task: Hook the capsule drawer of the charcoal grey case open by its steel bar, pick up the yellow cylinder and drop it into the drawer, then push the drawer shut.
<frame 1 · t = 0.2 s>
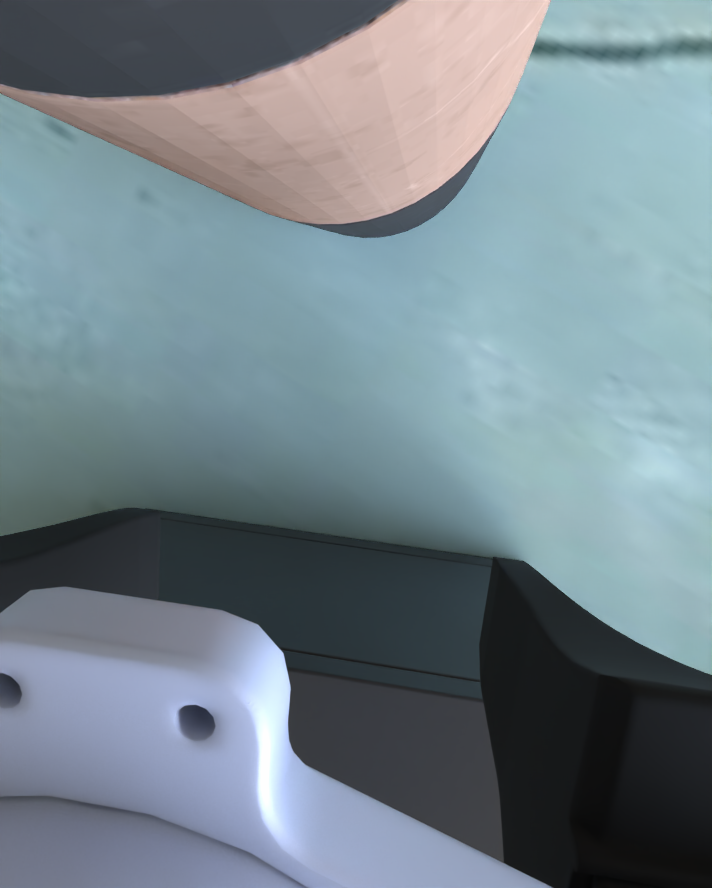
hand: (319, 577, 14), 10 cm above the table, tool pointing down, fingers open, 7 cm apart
travel mug: (373, 123, 21), on the table
charcoal grey case: (315, 691, 26), on the table
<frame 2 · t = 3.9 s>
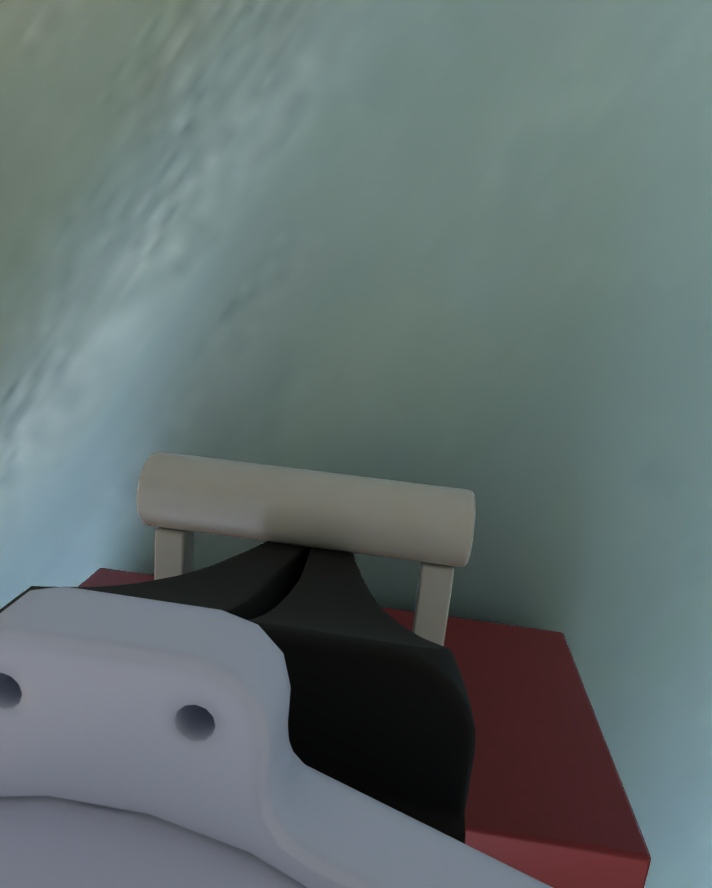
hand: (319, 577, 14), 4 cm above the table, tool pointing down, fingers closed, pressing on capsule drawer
capsule drawer: (285, 840, 15), point 4 cm above the table, slide at 1.9 cm, touching gripper
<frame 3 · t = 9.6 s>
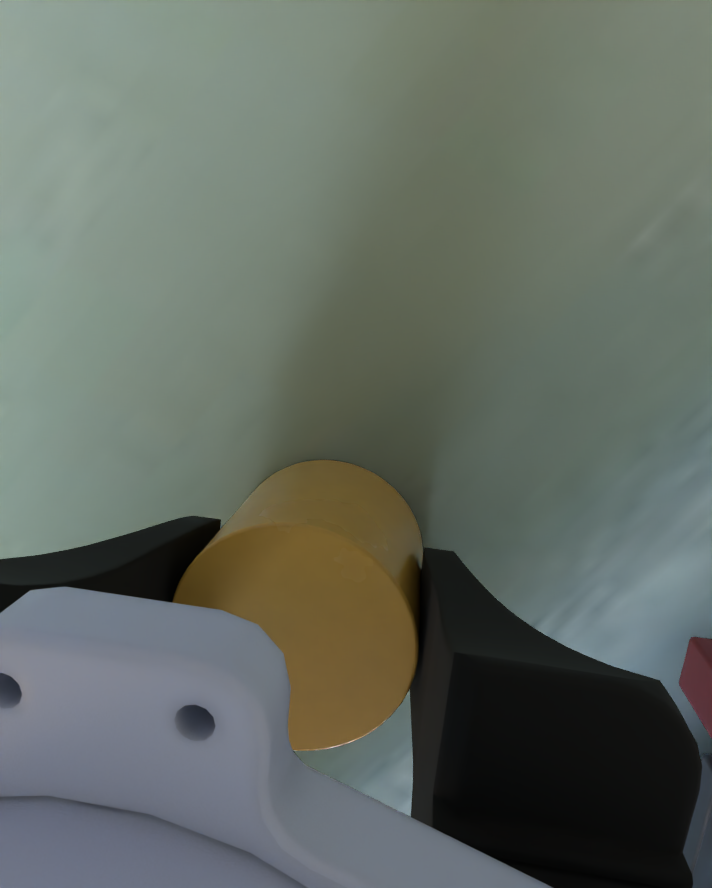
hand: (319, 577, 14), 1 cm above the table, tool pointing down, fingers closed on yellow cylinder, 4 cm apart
yellow cylinder: (328, 550, 15), on the table, touching gripper
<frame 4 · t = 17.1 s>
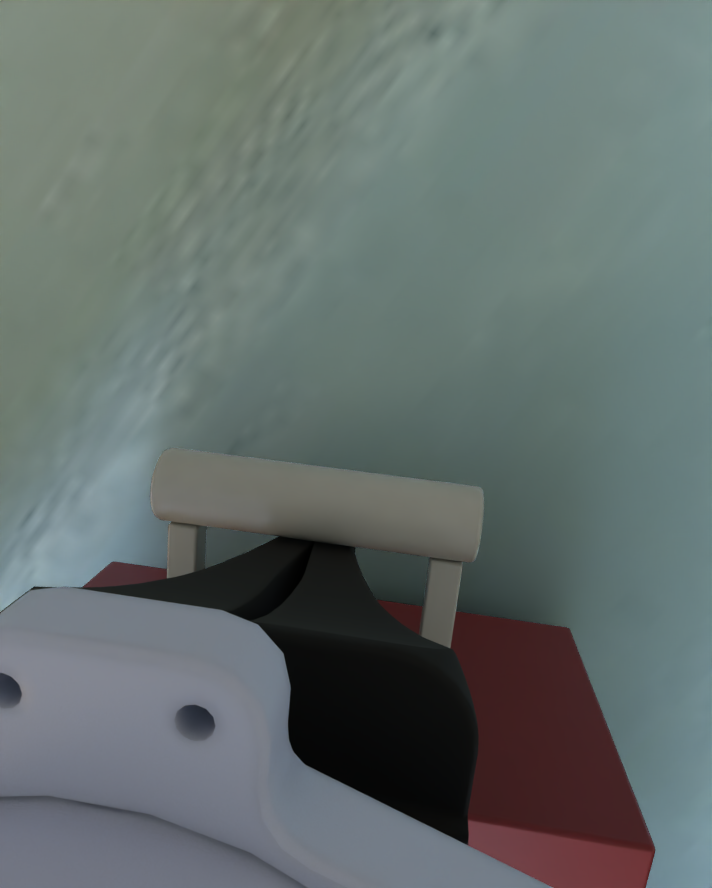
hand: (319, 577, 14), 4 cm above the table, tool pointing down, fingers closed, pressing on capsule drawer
capsule drawer: (294, 830, 15), point 4 cm above the table, slide at 5.7 cm, touching yellow cylinder, gripper
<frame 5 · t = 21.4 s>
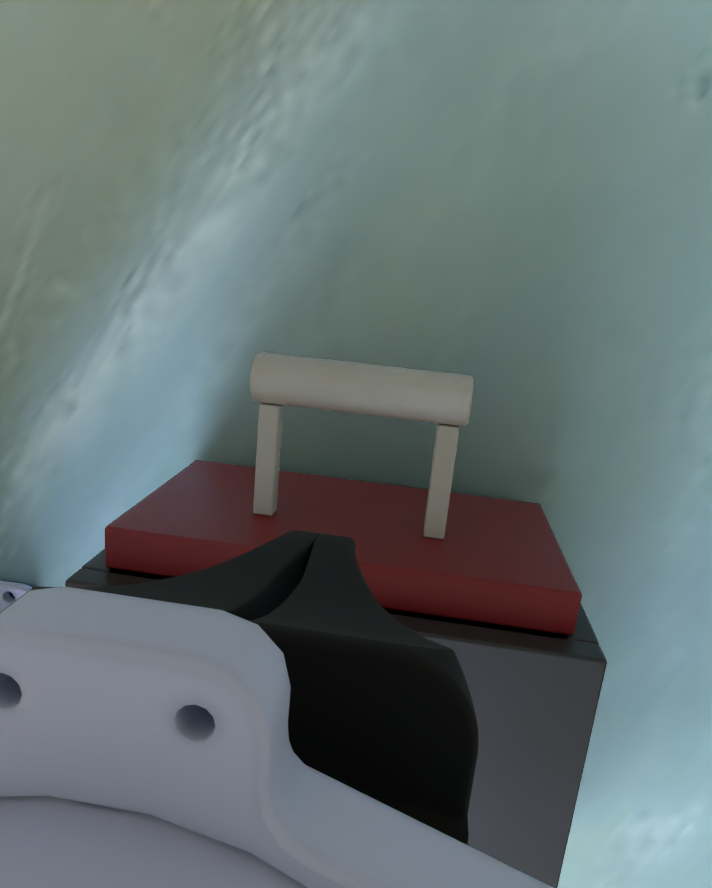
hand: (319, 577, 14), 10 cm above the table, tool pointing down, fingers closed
capsule drawer: (339, 640, 21), point 4 cm above the table, slide at 0.0 cm, touching yellow cylinder
charcoal grey case: (345, 673, 26), on the table
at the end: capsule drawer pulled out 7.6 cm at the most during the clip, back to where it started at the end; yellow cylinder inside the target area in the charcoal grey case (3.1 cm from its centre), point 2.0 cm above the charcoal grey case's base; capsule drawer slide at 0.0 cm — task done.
